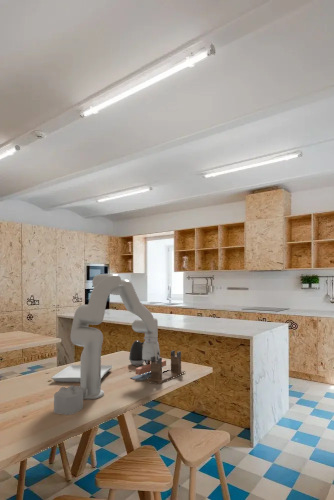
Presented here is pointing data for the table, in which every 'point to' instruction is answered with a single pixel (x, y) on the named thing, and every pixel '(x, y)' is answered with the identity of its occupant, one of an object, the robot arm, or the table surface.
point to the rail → (147, 368)
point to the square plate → (76, 373)
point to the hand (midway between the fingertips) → (151, 371)
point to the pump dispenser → (136, 353)
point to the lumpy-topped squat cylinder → (68, 400)
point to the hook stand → (175, 371)
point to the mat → (142, 376)
